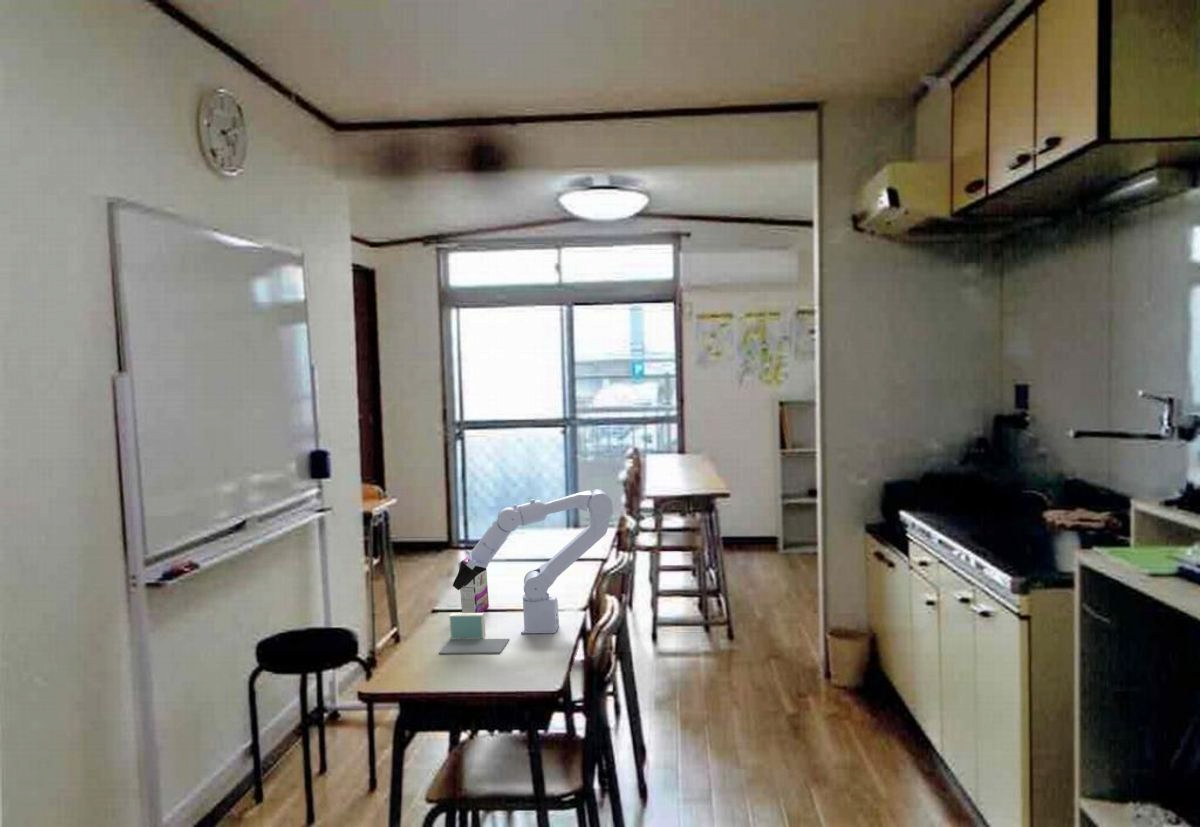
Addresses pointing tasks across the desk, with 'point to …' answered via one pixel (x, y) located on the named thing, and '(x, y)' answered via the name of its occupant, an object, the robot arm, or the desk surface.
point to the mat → (474, 646)
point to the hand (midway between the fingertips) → (458, 586)
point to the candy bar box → (475, 594)
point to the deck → (467, 625)
